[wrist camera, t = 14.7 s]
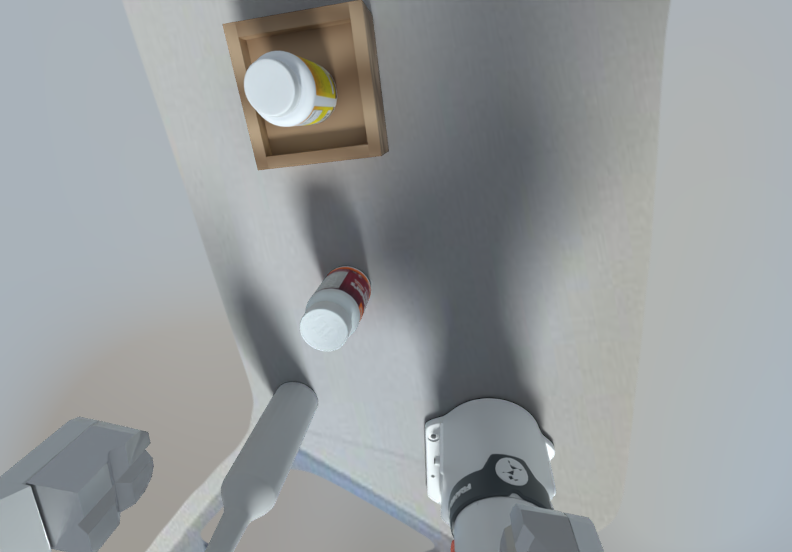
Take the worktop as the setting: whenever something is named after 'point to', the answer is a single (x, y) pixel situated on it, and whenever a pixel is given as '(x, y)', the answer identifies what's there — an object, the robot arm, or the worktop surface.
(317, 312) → the pill bottle
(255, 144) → the brown wooden box
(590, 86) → the worktop surface
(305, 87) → the supplement bottle
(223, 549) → the bottle
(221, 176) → the worktop surface
